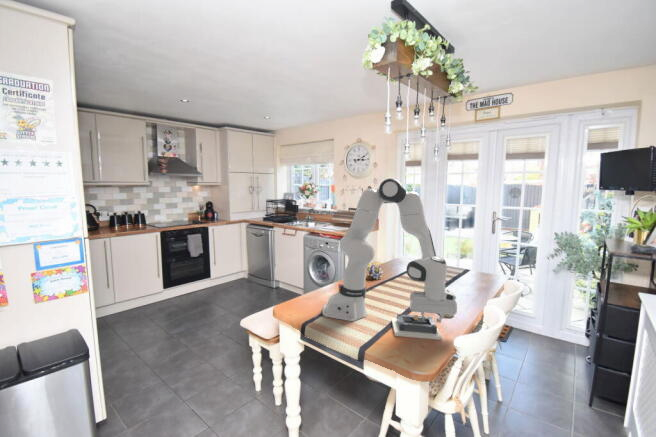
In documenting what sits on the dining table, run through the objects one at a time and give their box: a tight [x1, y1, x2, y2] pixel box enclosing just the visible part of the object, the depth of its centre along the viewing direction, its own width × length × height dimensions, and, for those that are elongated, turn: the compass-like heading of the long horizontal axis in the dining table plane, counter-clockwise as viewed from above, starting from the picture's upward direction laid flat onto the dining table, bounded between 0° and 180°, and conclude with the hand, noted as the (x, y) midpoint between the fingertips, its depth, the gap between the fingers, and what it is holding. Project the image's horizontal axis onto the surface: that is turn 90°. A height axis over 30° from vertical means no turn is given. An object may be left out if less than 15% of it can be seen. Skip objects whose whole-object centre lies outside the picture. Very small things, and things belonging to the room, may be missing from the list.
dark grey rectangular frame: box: [396, 313, 438, 334], centre depth 138 cm, size 16×10×3 cm, turn 84°
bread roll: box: [443, 314, 454, 318], centre depth 156 cm, size 8×9×4 cm
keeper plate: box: [390, 314, 443, 341], centre depth 138 cm, size 20×14×7 cm
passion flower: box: [366, 263, 384, 281], centre depth 208 cm, size 11×11×12 cm
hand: (431, 321), depth 137 cm, fingers open, 5 cm apart
